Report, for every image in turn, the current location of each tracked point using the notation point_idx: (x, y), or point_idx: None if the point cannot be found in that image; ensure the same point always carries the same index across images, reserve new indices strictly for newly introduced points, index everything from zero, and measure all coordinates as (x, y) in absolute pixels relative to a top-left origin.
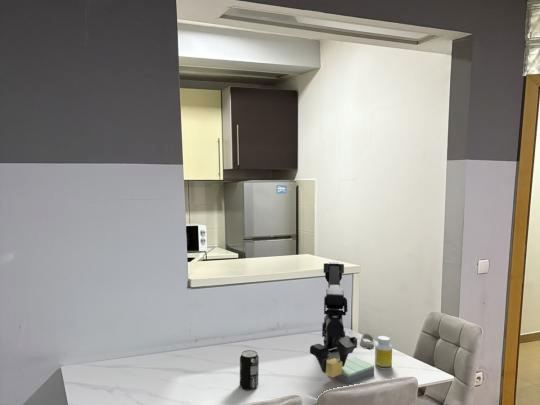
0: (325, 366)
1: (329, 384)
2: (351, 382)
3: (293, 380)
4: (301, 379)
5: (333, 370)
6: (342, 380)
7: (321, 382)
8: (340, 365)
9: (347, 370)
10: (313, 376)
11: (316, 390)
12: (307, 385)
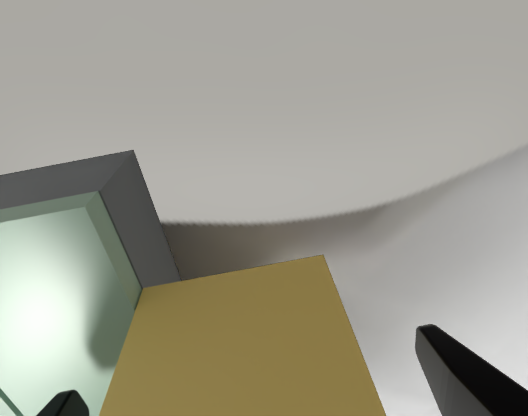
0: (518, 413)
1: (309, 232)
2: (70, 167)
3: (505, 361)
4: None
5: (323, 324)
6: (157, 235)
7: (349, 283)
8: (151, 398)
9: (37, 316)
10: None
11: (497, 181)
12: (485, 278)
